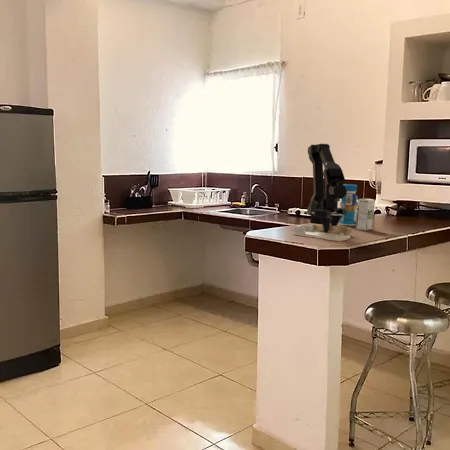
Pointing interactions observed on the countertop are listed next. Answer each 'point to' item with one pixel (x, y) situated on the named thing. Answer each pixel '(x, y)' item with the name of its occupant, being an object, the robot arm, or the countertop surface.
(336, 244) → the countertop surface
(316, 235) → the bracket board
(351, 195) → the beverage bottle
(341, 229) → the oak rail
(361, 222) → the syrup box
